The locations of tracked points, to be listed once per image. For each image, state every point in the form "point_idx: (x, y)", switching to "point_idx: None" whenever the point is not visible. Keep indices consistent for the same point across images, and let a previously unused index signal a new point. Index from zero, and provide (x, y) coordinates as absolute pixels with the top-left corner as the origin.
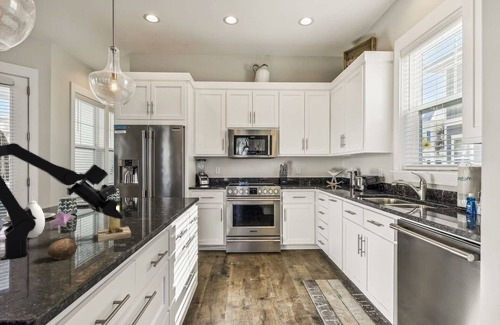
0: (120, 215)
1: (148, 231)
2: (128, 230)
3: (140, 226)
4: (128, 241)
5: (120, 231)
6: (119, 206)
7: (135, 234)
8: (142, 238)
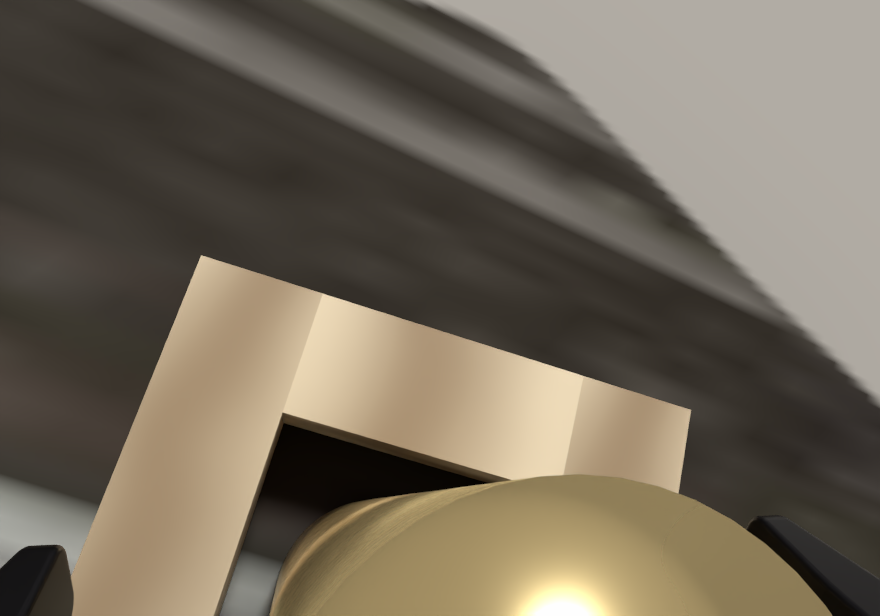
0: (877, 601)
1: (499, 103)
2: (516, 382)
3: (69, 18)
4: (823, 526)
5: (273, 448)
6: (717, 531)
7: (528, 303)
8: (794, 326)
